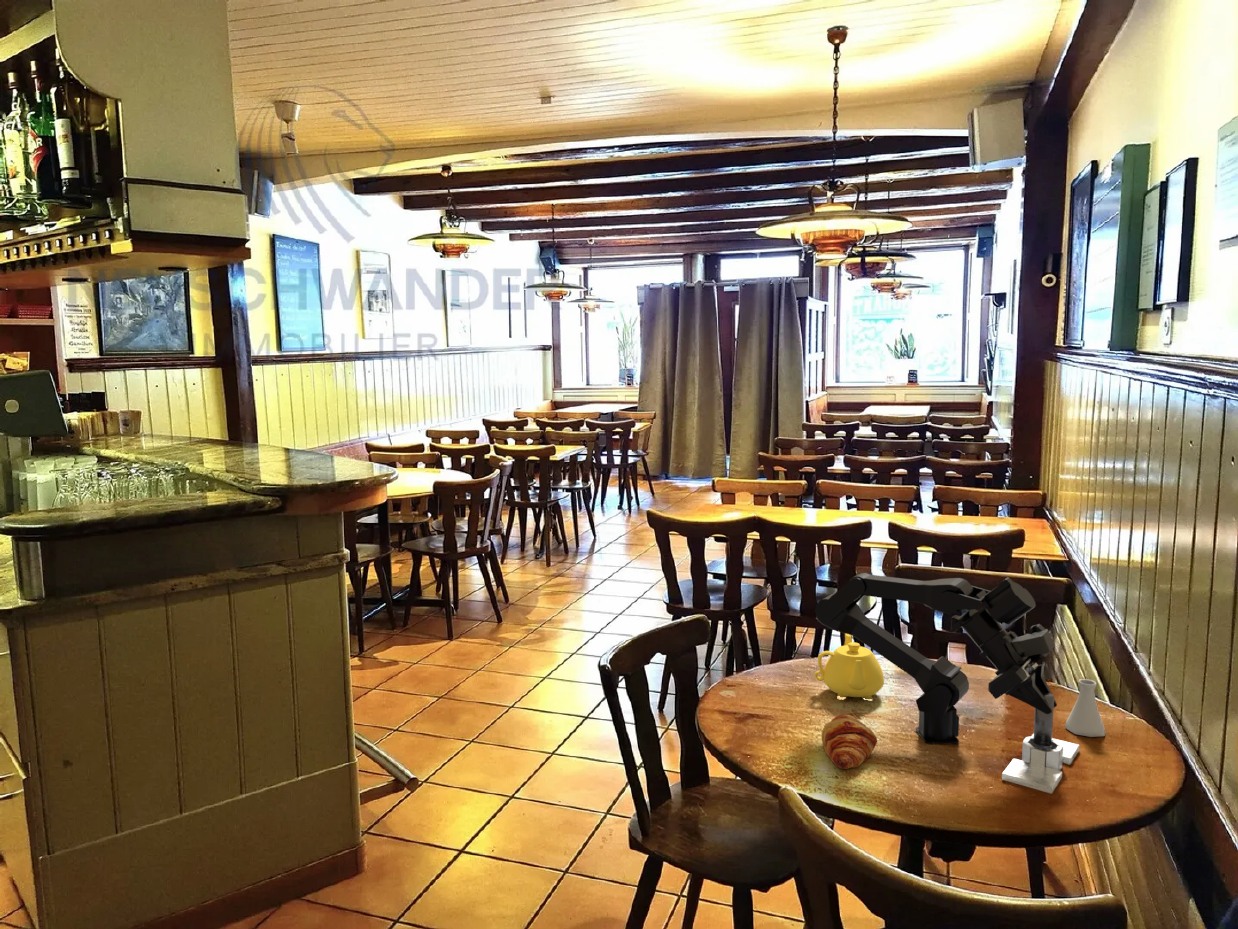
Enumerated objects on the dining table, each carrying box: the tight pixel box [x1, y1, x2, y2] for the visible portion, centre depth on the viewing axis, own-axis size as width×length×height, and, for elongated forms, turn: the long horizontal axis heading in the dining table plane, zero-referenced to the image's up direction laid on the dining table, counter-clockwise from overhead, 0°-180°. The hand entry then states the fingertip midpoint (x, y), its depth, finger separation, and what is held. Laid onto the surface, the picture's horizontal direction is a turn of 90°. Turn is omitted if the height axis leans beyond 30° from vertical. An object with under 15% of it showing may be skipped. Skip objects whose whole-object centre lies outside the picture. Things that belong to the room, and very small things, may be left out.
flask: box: [1064, 678, 1106, 738], centre depth 169 cm, size 7×7×10 cm
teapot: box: [814, 633, 885, 699], centre depth 189 cm, size 20×15×12 cm
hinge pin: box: [1032, 692, 1055, 746], centre depth 155 cm, size 3×3×9 cm
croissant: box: [821, 714, 878, 770], centre depth 163 cm, size 21×10×8 cm, turn 163°
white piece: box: [1001, 732, 1080, 795], centre depth 156 cm, size 8×20×4 cm, turn 140°
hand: (1052, 710), depth 154 cm, fingers closed on hinge pin, 3 cm apart
